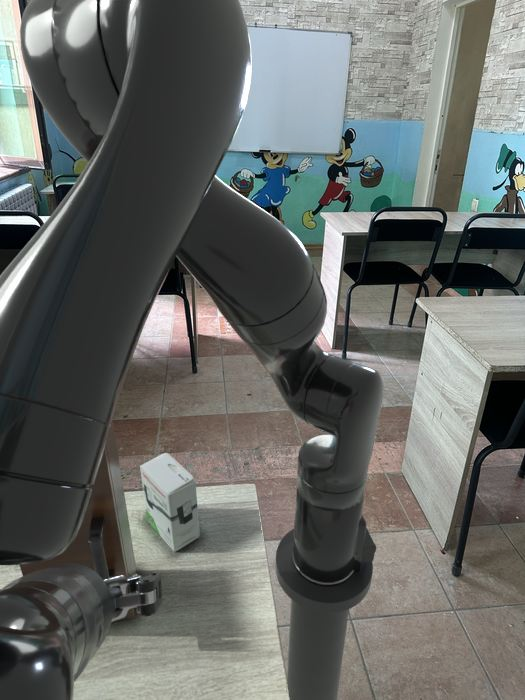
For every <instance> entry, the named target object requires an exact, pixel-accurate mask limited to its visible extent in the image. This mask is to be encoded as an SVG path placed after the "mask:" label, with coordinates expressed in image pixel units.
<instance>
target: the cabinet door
mask: <svg viewBox="0 0 525 700" xmlns="http://www.w3.org/2000/svg"><path fill="white" fill-rule="evenodd" d="M89 486H91V488H92V492H91V495H90V499H89V502H88V506H87V509H86V512H85V515H84V518H83V521H82V524H81V526H80V529H79V531H78V533H77V536H76V538H75V539H74V541H73V543H72V544H71V545H70V547H69V548H68V549H67V550H66V551H65V552H64V553H62V554H61V555H59V556H57V557H55V558H53V559H50V560H48V561H44V562H39V563H32V564H23V565H19V568H20V572H21V576H24V575H27V574H30V573H33V572H35V571H38V570H41V569H44V568H46V567H49V566H52V565H55V564H60V563H77V564H81V565H84V566H86V567H89V568H90V569H92V570H93V571H95V572H96V573H97V574H98V575H99V576H100V577H101V578H102V579H103V578H107V577H111V576H119V575H124V576H125V577H126V578H128V572H127V566H126V561H125V555H124V549H123V543H122V537H121V532H120V526H119V520H118V514H117V508H116V503H115V497H114V491H113V485H112V479H111V473H110V468H109V462H108V456H107V450H106V445H105V448H104V452H103V455H102V458H101V462H100V465H99V468H98V472H97V475H96V479H95V482H94V484H93V485H89ZM107 587H110V586H109V585H108V586H107ZM126 594H128V586H127V588H126ZM134 618H135V610H134V608H131V609H129V610H128V612H127V615H126V616H125V617H124V618H121V619H118V620H116V621H113V622H112V623H114V622H120V621H125V620H130V619H134Z"/></svg>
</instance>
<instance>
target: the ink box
mask: <svg viewBox="0 0 525 700" xmlns="http://www.w3.org/2000/svg"><path fill="white" fill-rule="evenodd" d="M139 468H140V476H141V484H142V490H143V491H142V492H143V500H144V507H145V514H146V515H145V516H146V521H147V523H148V524H149V525H150V526H151V527H152V529H153V530H154V531H155V532H156V533H157V534H158V535H159V536H160V537H161V539H162V540H163V541H164V542H165V543H166V544H167V545H168V547H169V548H170V549H171V550H172V551H173V552H174V553H176V552H178V551H179V550H181V549H182V548H184V547H187V545H189V544H190V543H192V542H194V541H195V540H197V539H198V538H200V524H199V523H200V522H199V521H200V520H199V510H198V495H197V482H196V479H195V478H194V475H192V474H191V473H190V472H189V471H188V470H187V469H186V468H184V467H183V466H182V465H181V464H180V463H179V462H178V461H177V460H176V458H174V457H173V456H171V455H170V454H169V453H168V452H164V453H161V454H160V455H158V456H156V457H154V458H152V459H150V460H149V461H146V462H144V463H142V464H140V465H139Z"/></svg>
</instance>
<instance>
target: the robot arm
mask: <svg viewBox="0 0 525 700" xmlns="http://www.w3.org/2000/svg"><path fill="white" fill-rule="evenodd" d="M19 38H20V39H19V41H20V51H21V56H22V60H23V64H24V67H25V70H26V73H27V75H28V78H29V81H30V83H31V86H32V88H33V90H34V92H35V94H36V97H37V98H38V100H39V102H40V103H41V105H42V107H43V109H44V111H45V112H46V114H47V115H48V118H50V120H51V121H52V123H53V124H54V126H55V127H56V128H57V130H58V131H59V132H60V133H61V134H62V136H63V138H65V140H66V141H67V142H68V143H69V145H71V146H72V147H73V149H74V150H75V151H76V152H77V153H78V154H79V155H80V156H81V157H82V158H83V159H84V161H85V162H86V163H87V164H86V165H85V167H84V169H82V171H81V173H80V174H79V176H78V178H77V179H76V180H75V182H74V184H73V186H72V187H71V188H70V190H69V191H68V192H67V194H66V195H65V196H64V198H63V199H62V200H61V202H60V203H59V204H58V206H56V208H55V210H54V211H53V212H52V213H51V215H50V216H49V217H48V219H46V221H45V222H44V223H43V224H42V225H41V227H40V228H39V229H38V230H37V231H36V232H35V234H34V235H33V236H32V237H31V239H30V240H29V241H27V243H26V244H25V245H24V247H23V248H22V249H21V250H20V251H19V252H18V254H17V255H16V256H15V257H14V258H13V259H12V261H10V263H9V264H8V266H7V267H6V268H5V269H4V270H3V271H2V273H1V274H0V566H20V565H23V564H32V563H39V562H44V561H48V560H50V559H53V558H55V557H57V556H59V555H61V554H62V553H64V552H65V551H66V550H67V549H68V548H69V547H70V545H71V544H72V543H73V541H74V539H75V538H76V536H77V533H78V531H79V529H80V526H81V524H82V521H83V518H84V515H85V512H86V509H87V506H88V502H89V499H90V495H91V492H92V488H91V486H89V485H93V484H94V482H95V479H96V475H97V472H98V468H99V465H100V462H101V458H102V455H103V452H104V448H105V445H106V442H107V438H108V435H109V432H110V426H111V425H112V421H113V422H114V418H115V414H116V411H117V407H118V403H119V402H120V401H119V400H120V397H121V394H122V390H123V387H124V384H125V381H126V379H127V375H128V372H129V369H130V366H131V363H132V360H133V357H134V354H135V351H136V349H137V346H138V343H139V341H140V339H141V335H142V332H143V330H144V328H145V324H146V322H147V319H148V318H149V315H150V313H151V311H152V309H153V306H154V304H155V302H156V300H157V298H158V295H159V293H160V291H161V288H162V287H163V285H164V283H165V281H166V278H167V276H168V274H169V272H170V270H171V268H172V266H173V264H174V261H175V260H176V258H177V259H178V260H179V261H180V263H181V265H183V266H184V267H185V269H186V270H187V271H188V273H190V275H191V276H192V277H193V278H194V280H195V281H196V282H197V283H198V284H199V285H200V287H201V288H202V289H203V290H204V292H205V293H206V294H207V296H208V297H209V298H210V300H211V301H212V303H213V304H214V306H215V308H217V310H218V311H219V313H220V314H221V315H222V317H223V318H224V319H225V321H226V322H227V323H228V324H229V326H230V327H231V328H232V329H233V330H234V332H235V333H236V334H237V336H238V337H239V338H240V340H242V342H243V343H245V345H246V346H247V347H248V349H249V350H250V351H251V353H253V355H254V356H255V358H256V359H257V361H259V363H260V364H261V365H262V367H263V368H264V369H265V370H266V371H267V373H268V374H269V375H270V377H271V379H272V380H273V382H274V384H275V386H276V388H277V390H278V391H279V394H280V395H281V398H282V400H283V401H284V403H285V405H286V407H287V408H288V410H289V411H290V413H292V415H293V416H294V417H295V418H297V420H299V421H301V422H303V423H304V424H307V425H309V426H311V427H313V428H315V429H318V430H319V431H323V432H325V433H321V434H317V435H314V436H312V437H310V438H308V439H307V440H305V442H303V444H301V446H300V448H299V451H298V453H297V454H298V455H297V471H296V491H295V493H296V494H295V510H294V511H295V512H294V520H293V522H294V523H293V529H294V528H295V529H294V544H293V545H294V546H293V556H292V559H293V564H294V567H295V569H296V570H297V572H298V573H299V574H300V575H301V576H302V577H303V578H304V579H305V580H307V581H309V582H311V583H313V584H315V585H319V586H326V587H330V586H337V585H340V584H342V583H344V582H346V581H347V580H348V579H349V578H350V577H351V576H352V575H353V573H355V572H360V567H361V563H364V562H370V561H372V562H374V560H375V553H376V552H377V544H376V543H375V542H374V540H373V537H372V535H371V534H370V532H369V530H368V528H367V521H366V519H365V517H364V516H363V508H364V501H365V492H366V486H367V478H368V473H369V472H368V471H369V466H370V462H371V458H372V455H373V451H374V446H375V440H376V434H377V429H378V423H379V419H380V415H381V411H382V406H383V400H384V391H385V390H384V381H383V377H382V375H381V374H380V372H378V370H376V369H374V368H371V367H368V366H366V365H363V364H360V363H357V362H354V361H351V360H349V359H345V358H342V357H339V356H336V355H333V354H331V353H329V352H327V351H325V350H323V349H322V348H321V347H320V346H319V345H318V344H317V342H316V340H317V339H318V337H319V335H320V334H321V332H322V330H323V327H324V325H325V322H326V318H327V313H328V300H327V295H326V291H325V288H324V284H323V283H322V280H321V279H320V277H319V275H318V274H319V273H318V272H317V269H316V268H315V266H314V265H315V264H314V263H313V261H312V258H311V256H310V255H309V252H308V250H307V249H306V247H305V246H304V244H303V243H302V241H301V240H300V239H299V237H298V236H297V235H296V234H295V233H294V232H293V231H292V230H291V229H289V228H288V227H287V226H286V225H285V224H284V223H282V222H281V221H280V220H278V219H277V218H276V217H275V216H273V215H272V214H271V213H269V212H267V211H266V210H265V209H264V208H261V207H260V206H259V205H257V204H255V202H253V201H251V200H250V199H248V198H246V197H245V196H243V195H242V194H240V193H239V192H238V191H236V190H235V189H234V188H232V187H231V186H229V185H228V184H227V183H225V182H223V180H222V179H220V178H219V177H218V176H217V173H218V171H219V170H220V167H221V165H222V163H223V160H224V159H225V157H226V155H227V154H228V150H229V149H230V146H231V145H232V142H233V141H234V138H235V135H236V133H237V132H238V128H239V126H240V123H241V121H242V119H243V116H244V113H245V109H246V106H247V103H248V97H249V93H250V88H251V80H252V61H253V60H252V59H253V58H252V47H251V39H250V33H249V28H248V24H247V21H246V18H245V14H244V10H243V8H242V5H241V2H240V0H29V1H28V3H27V4H26V7H25V8H24V11H23V12H22V17H21V23H20V29H19ZM108 585H109V586H110V587H107V586H108ZM127 586H128V594H126V588H127ZM162 603H163V592H162V576H161V573H160V572H159V573H158V572H156V571H154V572H151V573H150V574H148V575H146V576H142V575H139V573H136V574H132V575H130V576H129V577H128V578H126V577H125V576H124V575H119V576H111V577H107V578H103V579H102V578H101V577H100V576H99V575H98V574H97V573H96V572H95V571H93V570H92V569H90V568H89V567H86V566H84V565H81V564H77V563H60V564H55V565H52V566H49V567H46V568H44V569H41V570H38V571H35V572H33V573H30V574H27V575H24V576H23V575H21V577H18V578H16V579H14V580H12V581H11V582H9V583H8V584H6V585H5V586H3V587H2V588H0V700H74V697H75V696H74V695H75V694H74V693H75V682H76V681H77V680H78V678H79V677H81V675H82V674H83V672H84V671H85V669H86V668H87V667H88V665H89V663H90V662H91V661H92V659H93V658H94V657H95V655H96V653H98V651H99V650H100V648H101V646H102V645H103V643H104V642H105V639H106V637H107V635H108V633H109V630H110V628H111V625H112V623H114V622H117V621H116V620H118V619H121V618H124V617H125V616H126V615H127V612H128V610H129V609H131V608H135V609H136V613H137V614H139V615H140V616H144V617H151V616H152V615H154V614H155V613H157V611H158V610H159V608H160V607H161V605H162ZM113 621H114V622H113Z"/></svg>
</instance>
